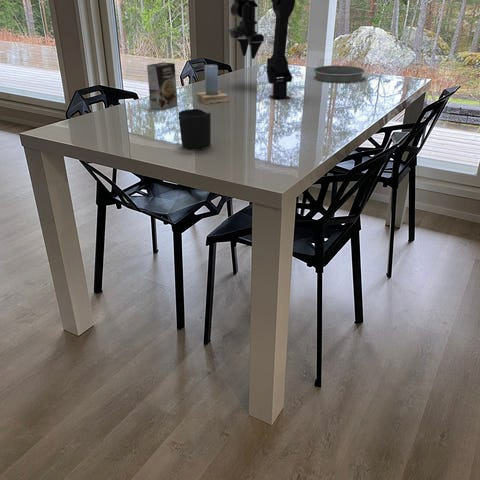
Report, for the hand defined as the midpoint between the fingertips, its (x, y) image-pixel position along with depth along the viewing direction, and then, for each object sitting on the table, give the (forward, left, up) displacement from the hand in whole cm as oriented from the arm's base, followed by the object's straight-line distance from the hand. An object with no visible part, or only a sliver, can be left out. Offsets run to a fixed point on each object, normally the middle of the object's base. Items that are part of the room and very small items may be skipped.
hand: (248, 57), depth 213 cm
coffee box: (-18, +45, -13) cm, 50 cm away
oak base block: (-16, +24, -13) cm, 32 cm away
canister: (-16, +24, -10) cm, 31 cm away
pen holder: (-69, +50, -13) cm, 86 cm away
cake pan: (-1, -48, -14) cm, 50 cm away
